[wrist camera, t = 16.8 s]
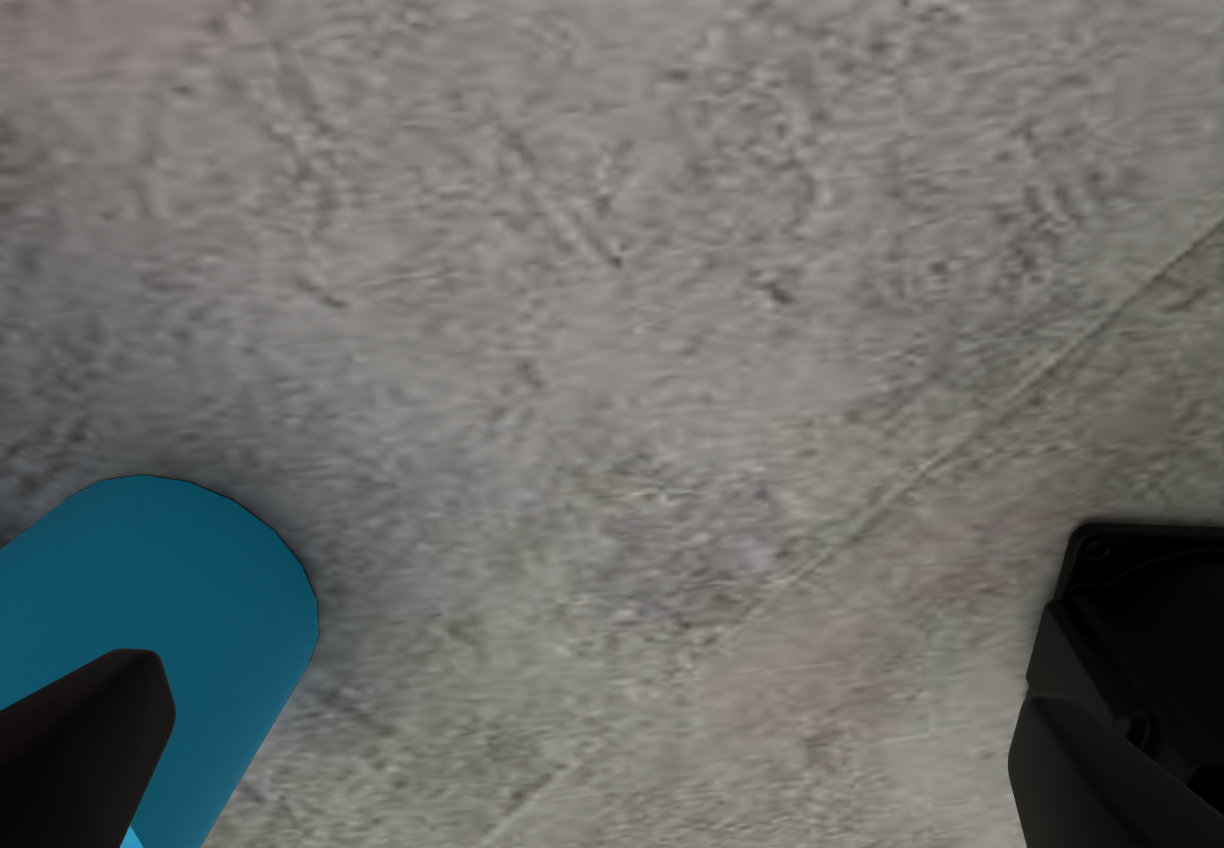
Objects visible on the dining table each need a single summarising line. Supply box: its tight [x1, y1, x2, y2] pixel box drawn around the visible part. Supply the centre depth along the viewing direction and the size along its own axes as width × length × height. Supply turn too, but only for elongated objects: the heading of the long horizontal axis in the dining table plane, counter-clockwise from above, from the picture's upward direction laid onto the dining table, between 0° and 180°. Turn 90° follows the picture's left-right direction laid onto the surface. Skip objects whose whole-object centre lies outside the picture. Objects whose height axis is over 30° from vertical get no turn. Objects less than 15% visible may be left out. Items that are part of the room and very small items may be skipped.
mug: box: [0, 475, 318, 848], centre depth 20 cm, size 12×8×8 cm
